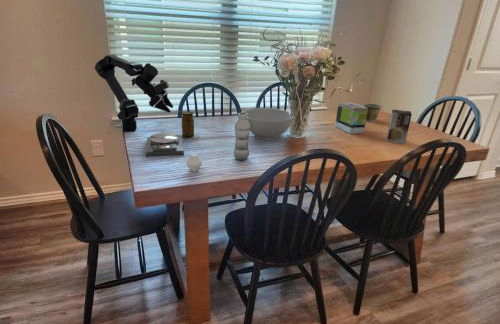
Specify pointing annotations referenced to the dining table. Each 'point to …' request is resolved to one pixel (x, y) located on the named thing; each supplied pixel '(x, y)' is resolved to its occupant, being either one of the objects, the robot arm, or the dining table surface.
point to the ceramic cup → (372, 112)
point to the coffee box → (399, 126)
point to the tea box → (351, 117)
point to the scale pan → (164, 138)
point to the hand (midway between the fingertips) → (171, 109)
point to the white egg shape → (194, 162)
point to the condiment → (188, 125)
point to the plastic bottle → (242, 137)
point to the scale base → (164, 148)
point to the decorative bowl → (268, 122)
